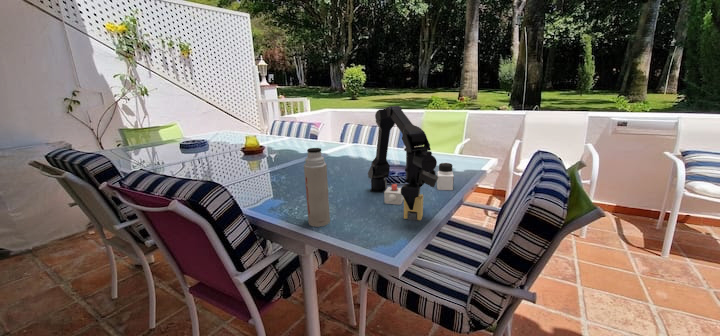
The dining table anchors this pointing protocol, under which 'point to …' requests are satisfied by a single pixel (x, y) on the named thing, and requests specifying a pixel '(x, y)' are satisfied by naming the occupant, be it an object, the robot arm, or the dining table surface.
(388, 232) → the dining table surface
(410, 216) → the rail
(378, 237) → the dining table surface
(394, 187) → the button
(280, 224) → the dining table surface
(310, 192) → the thermos bottle
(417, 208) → the block
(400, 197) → the white button housing
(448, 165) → the medicine bottle
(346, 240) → the dining table surface
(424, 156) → the robot arm
